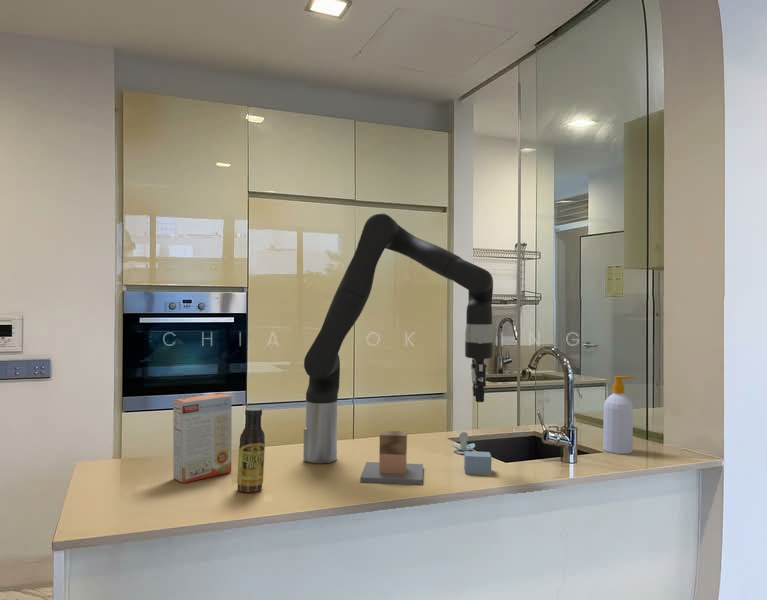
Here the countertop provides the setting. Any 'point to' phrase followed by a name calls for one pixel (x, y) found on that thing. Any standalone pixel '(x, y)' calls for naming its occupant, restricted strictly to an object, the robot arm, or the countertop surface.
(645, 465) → the countertop surface
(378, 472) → the baseplate
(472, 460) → the slate block
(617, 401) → the soap bottle
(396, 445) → the walnut block
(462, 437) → the pacifier
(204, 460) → the cracker box
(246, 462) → the sauce bottle
